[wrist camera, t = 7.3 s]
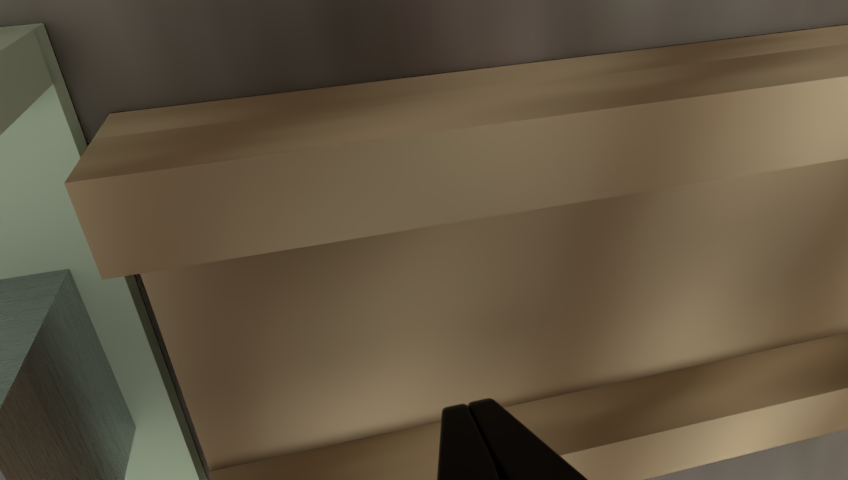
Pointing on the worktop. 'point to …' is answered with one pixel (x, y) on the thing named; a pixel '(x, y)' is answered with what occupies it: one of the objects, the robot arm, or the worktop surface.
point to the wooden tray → (497, 258)
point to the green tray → (79, 248)
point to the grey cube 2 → (57, 387)
